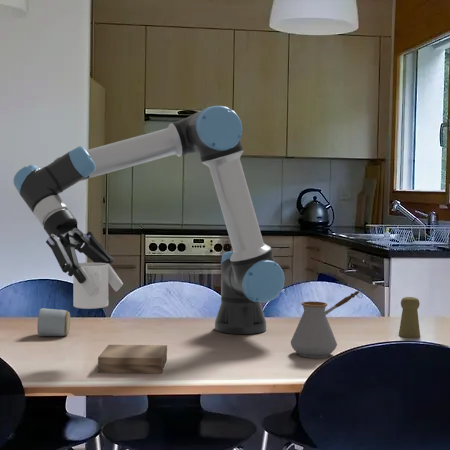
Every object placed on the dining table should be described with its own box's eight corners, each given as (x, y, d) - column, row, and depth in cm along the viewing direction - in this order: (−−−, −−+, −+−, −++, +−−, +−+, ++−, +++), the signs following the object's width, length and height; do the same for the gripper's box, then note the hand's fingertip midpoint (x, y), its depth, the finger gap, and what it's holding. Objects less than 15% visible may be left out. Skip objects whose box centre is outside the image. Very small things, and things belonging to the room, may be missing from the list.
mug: (84, 312, 155) (84, 268, 154) (69, 304, 165) (69, 263, 165) (118, 310, 159) (118, 267, 158) (102, 302, 169) (102, 261, 169)
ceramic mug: (67, 338, 190) (67, 310, 190) (36, 338, 189) (36, 310, 189) (72, 331, 200) (72, 304, 200) (43, 331, 200) (43, 304, 199)
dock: (167, 359, 166) (167, 345, 166) (161, 373, 153) (161, 358, 153) (108, 359, 166) (108, 344, 166) (98, 373, 153) (98, 357, 153)
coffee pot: (310, 362, 166) (311, 299, 165) (281, 352, 175) (281, 293, 175) (375, 351, 177) (376, 293, 176) (344, 343, 187) (345, 287, 186)
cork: (422, 334, 199) (422, 296, 199) (418, 338, 194) (419, 299, 194) (400, 332, 202) (401, 295, 202) (396, 336, 197) (397, 297, 196)
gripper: (78, 227, 179) (127, 294, 171) (14, 231, 161) (66, 306, 154) (94, 207, 176) (144, 274, 168) (30, 208, 158) (83, 284, 151)
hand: (106, 289), depth 161 cm, fingers closed on mug, 8 cm apart
